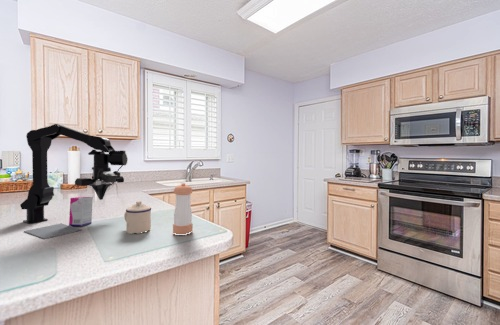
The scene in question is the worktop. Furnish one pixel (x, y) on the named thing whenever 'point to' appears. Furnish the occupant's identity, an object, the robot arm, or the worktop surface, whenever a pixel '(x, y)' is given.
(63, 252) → the worktop surface
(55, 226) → the slate mat
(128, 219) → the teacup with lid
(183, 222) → the pepper shaker
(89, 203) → the supplement box
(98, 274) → the worktop surface
